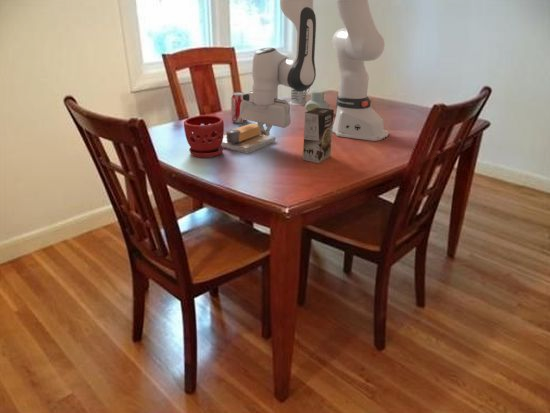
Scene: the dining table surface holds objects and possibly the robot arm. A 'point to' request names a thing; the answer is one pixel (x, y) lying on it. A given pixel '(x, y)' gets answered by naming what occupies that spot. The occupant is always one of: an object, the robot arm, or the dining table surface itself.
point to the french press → (296, 100)
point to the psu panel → (249, 143)
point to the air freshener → (316, 101)
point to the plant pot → (204, 135)
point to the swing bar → (242, 133)
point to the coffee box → (318, 134)
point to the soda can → (236, 107)
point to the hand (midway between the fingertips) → (264, 135)
